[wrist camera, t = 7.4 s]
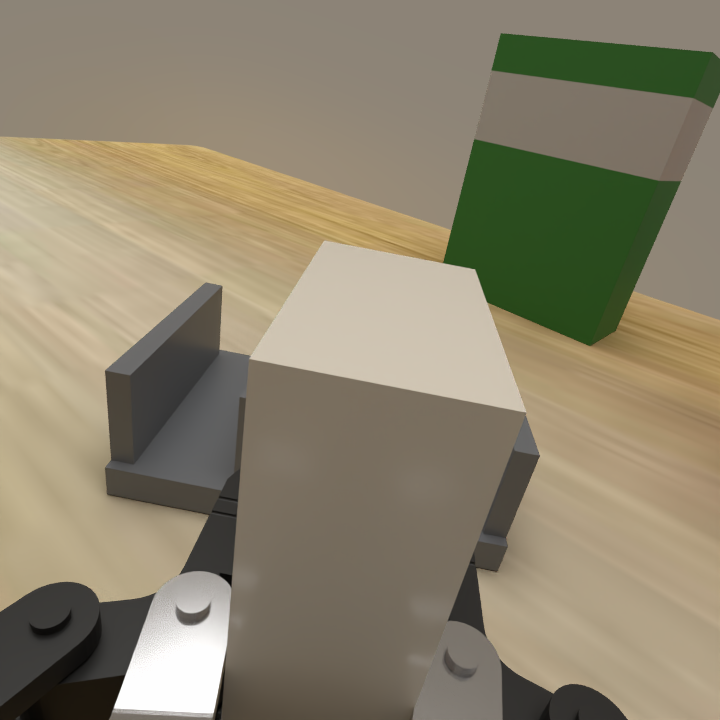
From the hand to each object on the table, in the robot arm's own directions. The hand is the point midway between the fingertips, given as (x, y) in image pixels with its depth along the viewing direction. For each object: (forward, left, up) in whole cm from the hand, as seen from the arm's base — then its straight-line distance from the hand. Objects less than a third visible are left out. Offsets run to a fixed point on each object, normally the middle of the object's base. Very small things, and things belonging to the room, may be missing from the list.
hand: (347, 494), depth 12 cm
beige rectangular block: (+2, +2, -9) cm, 9 cm away
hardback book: (-38, -28, -9) cm, 48 cm away
